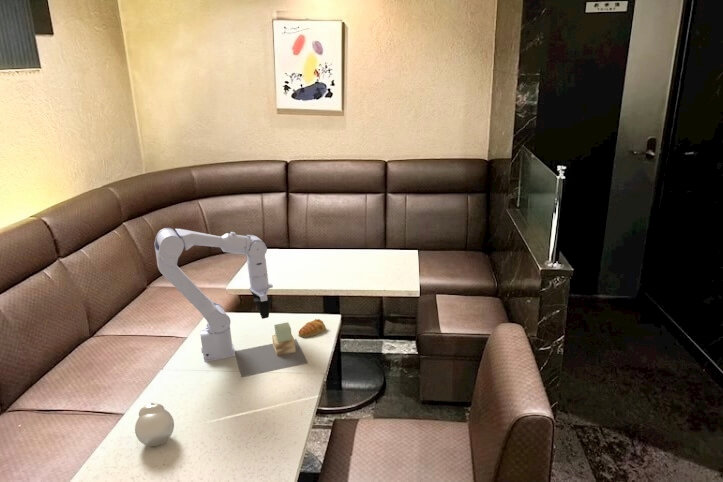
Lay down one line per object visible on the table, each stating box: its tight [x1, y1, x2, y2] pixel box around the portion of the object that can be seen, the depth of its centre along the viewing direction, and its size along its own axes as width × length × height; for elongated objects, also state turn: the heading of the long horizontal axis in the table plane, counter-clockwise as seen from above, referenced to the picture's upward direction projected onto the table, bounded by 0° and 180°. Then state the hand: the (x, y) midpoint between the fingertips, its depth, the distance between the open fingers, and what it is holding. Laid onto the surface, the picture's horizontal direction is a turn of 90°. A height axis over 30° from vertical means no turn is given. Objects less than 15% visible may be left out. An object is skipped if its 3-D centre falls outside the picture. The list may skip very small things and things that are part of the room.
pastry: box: [298, 318, 327, 338], centre depth 181 cm, size 9×7×4 cm
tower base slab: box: [272, 342, 296, 356], centre depth 171 cm, size 6×6×2 cm
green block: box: [273, 321, 293, 342], centre depth 169 cm, size 4×4×4 cm
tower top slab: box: [271, 333, 295, 350], centre depth 170 cm, size 6×6×2 cm
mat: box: [234, 338, 309, 378], centre depth 167 cm, size 20×16×1 cm
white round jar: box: [134, 402, 175, 447], centre depth 130 cm, size 9×10×10 cm
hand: (263, 312), depth 174 cm, fingers open, 7 cm apart
